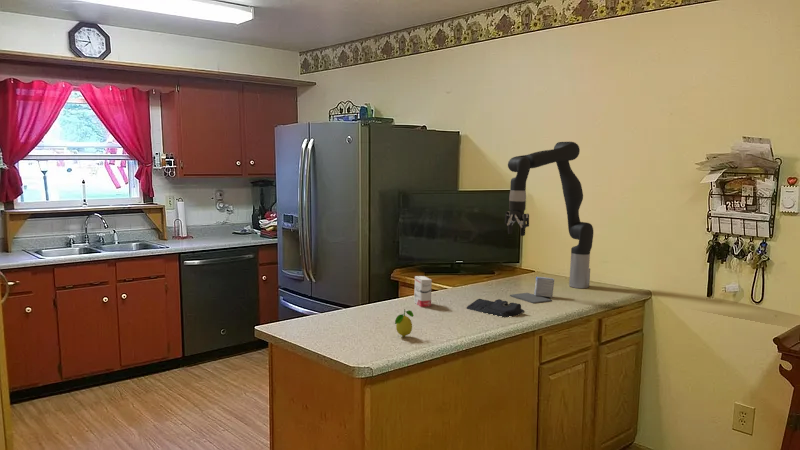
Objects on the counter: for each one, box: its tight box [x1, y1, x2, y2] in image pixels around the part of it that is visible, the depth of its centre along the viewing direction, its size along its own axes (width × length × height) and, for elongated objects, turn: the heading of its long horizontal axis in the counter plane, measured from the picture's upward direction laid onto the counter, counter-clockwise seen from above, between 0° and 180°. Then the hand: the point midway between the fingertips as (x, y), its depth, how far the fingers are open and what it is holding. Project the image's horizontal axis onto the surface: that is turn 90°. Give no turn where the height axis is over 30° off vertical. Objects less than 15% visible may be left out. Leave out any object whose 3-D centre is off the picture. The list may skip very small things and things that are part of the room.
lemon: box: [394, 309, 414, 338], centre depth 201 cm, size 7×6×10 cm
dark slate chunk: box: [465, 298, 525, 318], centre depth 242 cm, size 15×22×5 cm
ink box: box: [413, 275, 433, 308], centre depth 248 cm, size 8×5×12 cm, turn 20°
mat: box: [509, 292, 553, 304], centre depth 265 cm, size 11×16×1 cm
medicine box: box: [533, 276, 555, 298], centre depth 269 cm, size 8×4×9 cm, turn 86°
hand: (516, 234), depth 269 cm, fingers open, 8 cm apart
